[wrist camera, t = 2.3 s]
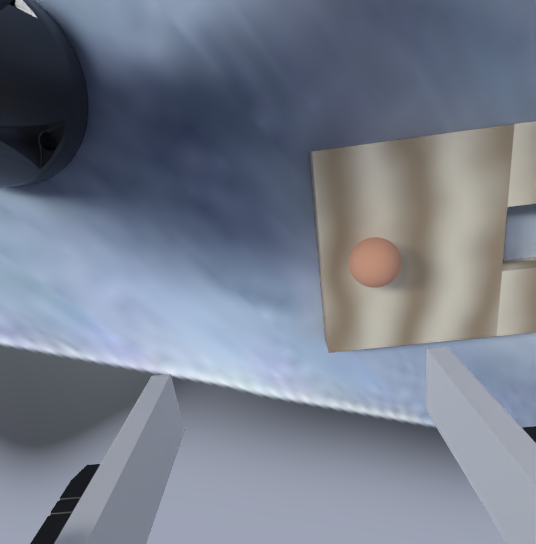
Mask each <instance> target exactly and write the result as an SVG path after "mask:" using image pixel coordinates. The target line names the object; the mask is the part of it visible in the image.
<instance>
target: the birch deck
mask: <svg viewBox="0 0 536 544" xmlns="http://www.w3.org/2000/svg"><path fill="white" fill-rule="evenodd" d="M309 157H310V168H311V180H312V191H313V203H314V215H315V226H316V238H317V249H318V261H319V272H320V284H321V296H322V307H323V319H324V330H325V340H326V344H327V348H328V351H329V353H331V352H341V351H351V350H361V349H371V348H382V347H392V346H402V345H412V344H422V343H432V342H442V341H453V340H463V339H473V338H483V337H493V336H503V335H514V334H524V333H534V332H536V257H535V258H527V259H518V260H509V261H503V254H504V242H505V231H506V219H507V207H512V206H520V205H529V204H536V121H532V122H524V123H517V124H510V125H502V126H495V127H488V128H480V129H473V130H465V131H458V132H451V133H443V134H436V135H429V136H421V137H414V138H406V139H399V140H392V141H384V142H377V143H370V144H362V145H355V146H347V147H340V148H333V149H325V150H318V151H311V152H309ZM372 237H378V238H383V239H386V240H388V241H390V242H391V243H393V244H394V245H395V246H396V248H397V249H398V251H399V253H400V256H401V269H400V272H399V274H398V275H397V277H396V278H395V279H394V280H393V281H392V282H391V283H389V284H387V285H385V286H382V287H377V288H373V287H367V286H364V285H362V284H361V283H359V282H358V281H357V280H356V279H355V278H354V277H353V275H352V274H351V271H350V268H349V257H350V254H351V252H352V250H353V248H354V247H355V246H356V245H357V244H358V243H359V242H361V241H363V240H365V239H367V238H372Z"/></svg>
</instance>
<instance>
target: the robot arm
mask: <svg viewBox="0 0 536 544" xmlns="http://www.w3.org/2000/svg"><path fill="white" fill-rule="evenodd" d="M87 114H88V100H87V90H86V84H85V80H84V76H83V72H82V69H81V66H80V64H79V61H78V59H77V56H76V54H75V52H74V50H73V48H72V46H71V44H70V43H69V41H68V39H67V38H66V36H65V35H64V33H63V32H62V30H61V29H60V28H59V26H58V25H57V24H56V23H55V21H54V20H53V19H52V18H51V17H50V16H49V15H48V14H47V13H46V12H45V11H44V10H43V9H42V8H41V7H40V6H39V5H37V4H36V3H35V2H34V1H32V0H0V187H10V186H21V185H29V184H34V183H38V182H41V181H44V180H46V179H48V178H50V177H52V176H53V175H55V174H57V173H58V172H59V171H61V170H62V169H63V168H64V167H65V166H66V165H67V164H68V163H69V162H70V160H71V159H72V158H73V156H74V155H75V153H76V152H77V150H78V148H79V146H80V144H81V141H82V139H83V136H84V132H85V128H86V123H87ZM426 410H427V412H428V414H429V415H430V417H431V419H432V420H433V422H434V424H435V425H436V427H437V429H438V430H439V432H440V434H441V435H442V437H443V439H444V440H445V442H446V444H447V445H448V447H449V449H450V450H451V452H452V454H453V455H454V457H455V459H456V460H457V462H458V464H459V465H460V467H461V468H462V470H463V472H464V473H465V475H466V477H467V479H468V480H469V482H470V484H471V485H472V487H473V489H474V490H475V492H476V494H477V495H478V497H479V499H480V500H481V502H482V504H483V505H484V507H485V509H486V510H487V512H488V514H489V515H490V517H491V519H492V520H493V522H494V524H495V525H496V527H497V529H498V530H499V532H500V534H501V535H502V537H503V539H504V540H505V542H506V544H536V427H524V428H522V427H521V426H520V425H519V424H518V423H517V422H516V421H515V420H514V419H513V418H512V417H511V415H510V414H509V413H508V412H507V411H506V410H505V409H504V408H503V407H502V406H501V405H500V403H499V402H498V401H497V400H496V399H495V398H494V397H493V396H492V395H491V394H490V393H489V392H488V390H487V389H486V388H485V387H484V386H483V385H482V384H481V383H480V382H479V381H478V380H477V378H476V377H475V376H474V375H473V374H472V373H471V372H470V371H469V370H468V369H467V368H466V366H465V365H464V364H463V363H462V362H461V361H460V360H459V359H458V358H457V357H456V356H455V354H454V353H453V352H452V351H451V350H450V349H449V348H448V347H440V348H430V349H427V351H426ZM184 431H185V430H184V426H183V422H182V418H181V414H180V410H179V406H178V402H177V398H176V394H175V390H174V386H173V382H172V378H171V374H168V375H158V376H151V378H150V380H149V382H148V384H147V385H146V387H145V389H144V390H143V392H142V394H141V396H140V397H139V399H138V401H137V402H136V404H135V406H134V407H133V409H132V411H131V413H130V414H129V416H128V418H127V419H126V421H125V423H124V425H123V426H122V428H121V430H120V431H119V433H118V435H117V437H116V438H115V440H114V442H113V443H112V445H111V447H110V449H109V450H108V452H107V454H106V456H105V457H104V459H103V461H102V462H101V464H95V465H87V466H86V467H85V468H84V469H83V470H81V472H79V473H78V474H77V475H76V476H75V477H74V478H73V479H72V480H71V482H70V483H69V485H68V486H67V488H66V489H65V491H64V493H63V494H62V496H61V497H60V501H58V502H57V503H56V505H55V507H54V508H53V509H52V511H51V515H50V516H48V517H47V519H46V520H45V522H44V524H43V525H42V527H41V528H40V530H39V531H38V533H37V534H36V536H35V537H34V539H33V541H32V542H31V544H146V542H147V539H148V536H149V534H150V531H151V528H152V525H153V522H154V519H155V516H156V513H157V510H158V507H159V504H160V501H161V498H162V496H163V492H164V490H165V487H166V484H167V481H168V478H169V475H170V472H171V469H172V466H173V463H174V460H175V457H176V455H177V452H178V449H179V446H180V443H181V440H182V437H183V434H184Z"/></svg>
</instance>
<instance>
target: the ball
mask: <svg viewBox="0 0 536 544" xmlns="http://www.w3.org/2000/svg"><path fill="white" fill-rule="evenodd" d="M349 268H350V271H351V274H352V275H353V277H354V278H355V279H356V280H357V281H358V282H359V283H361V284H362V285H364V286H367V287H373V288H377V287H382V286H385V285H387V284H389V283H391V282H392V281H393V280H394V279H395V278H396V277H397V275H398V274H399V272H400V269H401V256H400V253H399V251H398V249H397V248H396V246H395V245H394V244H393V243H391V242H390V241H388V240H386V239H383V238H378V237H372V238H367V239H365V240H363V241H361V242H359V243H358V244H357V245H356V246H355V247H354V248H353V250H352V252H351V254H350V257H349Z"/></svg>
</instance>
